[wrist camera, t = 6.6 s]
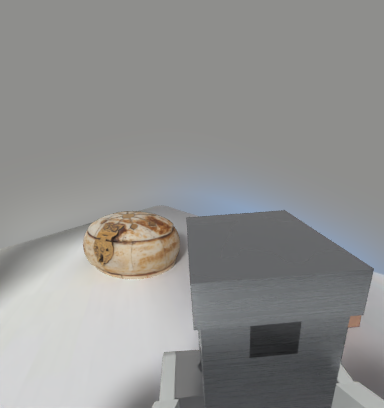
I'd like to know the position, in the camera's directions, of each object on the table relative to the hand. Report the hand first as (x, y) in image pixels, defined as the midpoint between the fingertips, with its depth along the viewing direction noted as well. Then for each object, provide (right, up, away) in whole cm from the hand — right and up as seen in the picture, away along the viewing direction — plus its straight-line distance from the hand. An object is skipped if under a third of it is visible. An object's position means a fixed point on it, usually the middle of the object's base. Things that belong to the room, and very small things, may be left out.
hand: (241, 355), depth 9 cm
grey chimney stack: (+1, -7, +1) cm, 7 cm away
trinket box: (-11, -3, +25) cm, 28 cm away
